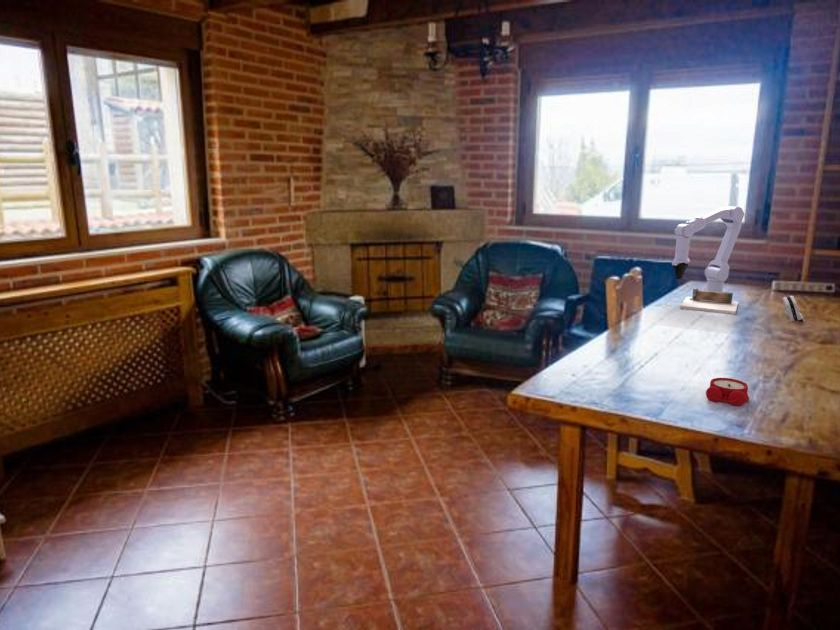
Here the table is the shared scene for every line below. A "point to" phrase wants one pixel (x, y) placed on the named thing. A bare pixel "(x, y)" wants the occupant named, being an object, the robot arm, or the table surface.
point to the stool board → (709, 305)
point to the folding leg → (712, 295)
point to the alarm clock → (728, 391)
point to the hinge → (792, 308)
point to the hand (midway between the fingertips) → (678, 279)
